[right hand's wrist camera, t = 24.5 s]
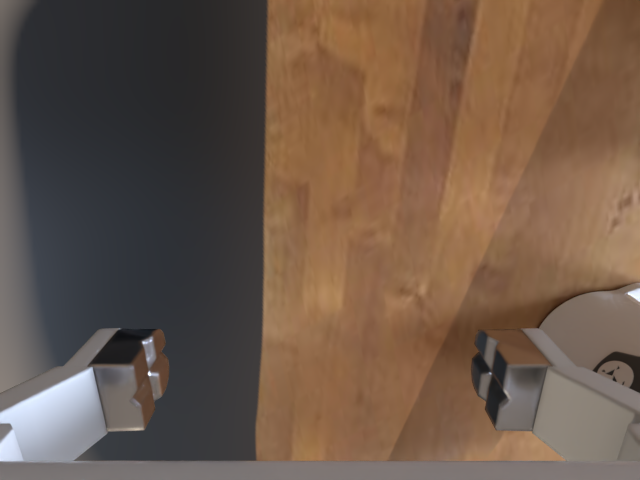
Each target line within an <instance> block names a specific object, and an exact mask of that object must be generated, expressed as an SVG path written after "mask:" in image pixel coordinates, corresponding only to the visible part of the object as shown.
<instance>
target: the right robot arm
mask: <svg viewBox="0 0 640 480" xmlns="http://www.w3.org/2000/svg"><path fill="white" fill-rule="evenodd" d="M164 346H165V339H164V334H163V332H162V331H161V330H160V329H120V328H105V329H99V330H98V331H97V332H96V333H95V334H94V335H93V336H92V337H91V338H90V339H89V340H88V341H87V342H86V343H85V344H84V345H83V347H82V348H81V349H80V350H79V351H78V352H77V353H76V354H75V355H74V356H73V357H72V358H71V359H70V360H69V361H68V362H67V363H66V364H65V365H64V366H63V367H55V368H53V369H51V370H49V371H47V372H44V373H42V374H40V375H38V376H36V377H34V378H32V379H29V380H27V381H25V382H23V383H21V384H19V385H17V386H14V387H12V388H10V389H8V390H6V391H4V392H2V393H0V480H640V283H634V284H630V285H627V286H625V287H622V288H620V289H617V290H613V291H597V292H590V293H586V294H582V295H579V296H576V297H574V298H572V299H570V300H568V301H566V302H564V303H563V304H561V305H560V306H558V307H557V308H556V309H555V310H553V311H552V312H551V313H550V314H549V315H548V316H547V317H546V319H545V320H544V321H543V323H542V324H541V326H540V327H539V329H538V328H527V329H497V330H478V332H477V334H476V338H475V346H476V347H477V349H478V351H479V352H478V353H477V354H476V355H475V356H474V357H473V358H472V365H471V376H472V382H473V386H474V389H475V391H476V393H477V395H478V396H479V397H480V398H482V399H483V400H485V401H486V406H485V410H486V412H487V414H488V416H489V418H490V420H491V422H492V424H493V425H494V427H495V429H496V430H506V431H533V432H532V433H533V434H534V435H536V436H537V437H538V438H539V439H540V440H542V441H543V442H544V443H545V444H547V445H548V446H549V447H550V448H552V449H553V450H554V451H555V452H557V453H558V454H559V455H560V456H561V457H563V458H564V459H565V460H566V461H74V460H75V459H76V458H77V457H79V456H80V455H81V454H82V453H84V452H85V451H86V450H87V449H89V448H90V447H91V446H92V445H94V444H95V443H96V442H97V441H98V440H100V439H101V438H102V437H103V436H105V435H106V434H107V431H133V430H144V429H145V427H146V425H147V424H148V422H149V420H150V418H151V416H152V414H153V412H154V410H155V406H154V401H155V400H157V399H158V398H160V397H161V396H162V395H163V393H164V391H165V389H166V386H167V382H168V377H169V364H168V358H167V357H166V356H165V355H164V354H163V353H162V352H161V351H162V349H163V347H164Z"/></svg>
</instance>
